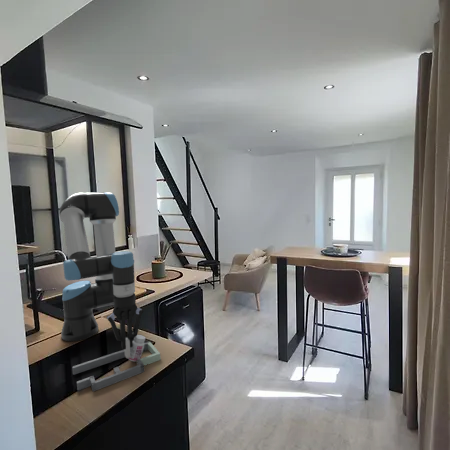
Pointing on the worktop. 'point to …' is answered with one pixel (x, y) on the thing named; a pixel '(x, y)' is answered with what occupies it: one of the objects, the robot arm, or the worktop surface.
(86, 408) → the worktop surface
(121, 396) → the worktop surface
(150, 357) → the channel
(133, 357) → the pill bottle
